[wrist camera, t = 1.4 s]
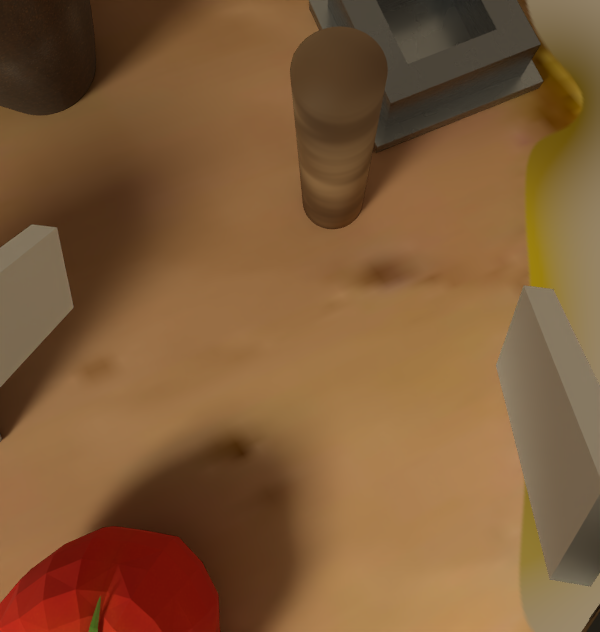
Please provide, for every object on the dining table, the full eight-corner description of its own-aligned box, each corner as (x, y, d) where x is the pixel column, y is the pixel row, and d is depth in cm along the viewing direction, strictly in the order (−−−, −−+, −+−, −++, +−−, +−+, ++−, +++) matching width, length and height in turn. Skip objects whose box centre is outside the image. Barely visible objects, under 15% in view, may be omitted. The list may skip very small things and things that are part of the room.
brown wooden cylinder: (293, 185, 36) (275, 47, 22) (348, 163, 36) (364, 12, 22) (316, 238, 35) (312, 128, 22) (372, 215, 36) (403, 93, 22)
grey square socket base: (309, 8, 38) (308, -35, 35) (463, -52, 39) (478, -101, 35) (376, 152, 36) (382, 123, 32) (538, 88, 37) (563, 51, 33)
